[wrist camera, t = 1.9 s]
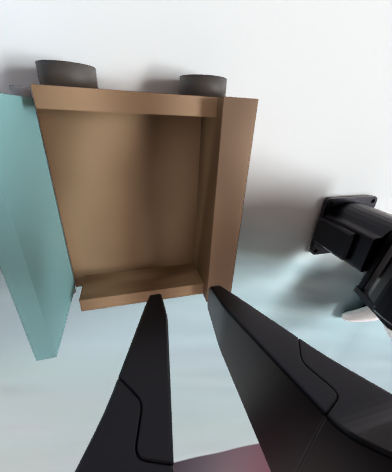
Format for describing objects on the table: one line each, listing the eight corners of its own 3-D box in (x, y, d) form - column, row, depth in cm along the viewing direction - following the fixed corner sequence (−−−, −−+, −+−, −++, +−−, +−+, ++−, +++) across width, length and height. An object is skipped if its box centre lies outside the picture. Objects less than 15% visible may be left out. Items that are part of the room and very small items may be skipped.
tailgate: (32, 87, 13) (-37, 70, 8) (77, 287, 20) (58, 362, 14) (11, 86, 13) (-78, 66, 7) (63, 289, 19) (38, 366, 14)
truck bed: (223, 83, 17) (262, 72, 13) (208, 271, 25) (228, 309, 20) (34, 66, 14) (-9, 44, 10) (81, 286, 22) (70, 335, 17)
